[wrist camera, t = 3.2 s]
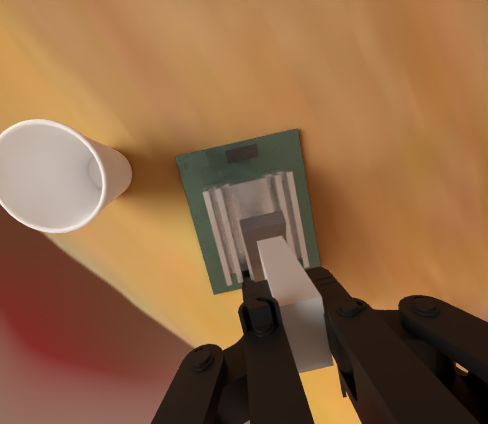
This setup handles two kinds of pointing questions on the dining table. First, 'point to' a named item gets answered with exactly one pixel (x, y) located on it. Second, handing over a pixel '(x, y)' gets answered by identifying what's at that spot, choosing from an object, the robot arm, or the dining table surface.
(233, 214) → the green circuit board
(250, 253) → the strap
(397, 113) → the dining table surface
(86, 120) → the dining table surface
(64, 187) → the cup
